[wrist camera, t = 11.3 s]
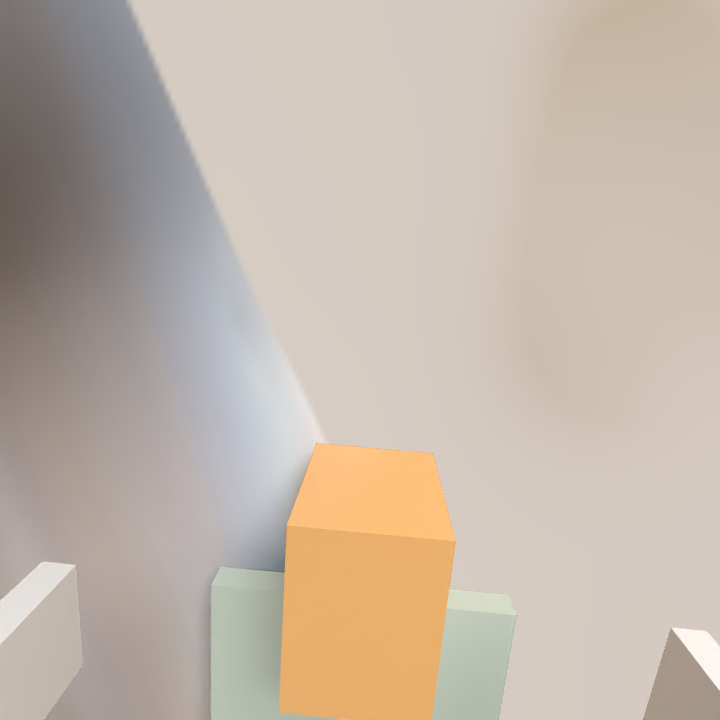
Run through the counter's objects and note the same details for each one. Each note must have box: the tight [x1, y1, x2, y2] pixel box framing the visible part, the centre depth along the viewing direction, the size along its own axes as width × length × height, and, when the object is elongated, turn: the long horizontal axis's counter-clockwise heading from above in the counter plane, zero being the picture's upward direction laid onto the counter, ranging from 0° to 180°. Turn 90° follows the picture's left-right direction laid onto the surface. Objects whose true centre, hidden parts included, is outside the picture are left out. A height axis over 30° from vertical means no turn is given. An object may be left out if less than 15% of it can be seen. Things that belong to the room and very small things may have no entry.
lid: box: [211, 443, 517, 720], centre depth 16 cm, size 18×11×6 cm, turn 176°
